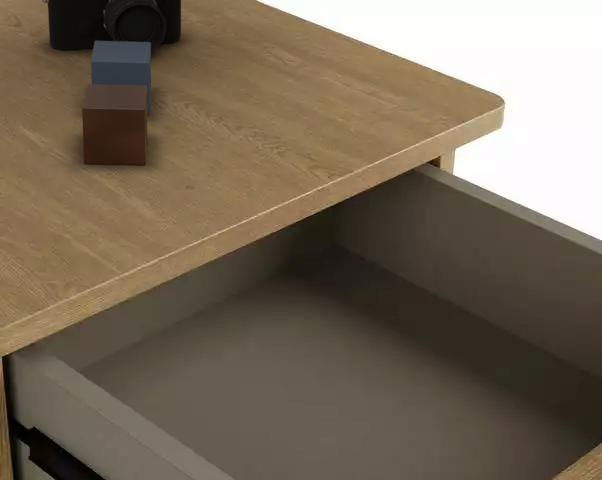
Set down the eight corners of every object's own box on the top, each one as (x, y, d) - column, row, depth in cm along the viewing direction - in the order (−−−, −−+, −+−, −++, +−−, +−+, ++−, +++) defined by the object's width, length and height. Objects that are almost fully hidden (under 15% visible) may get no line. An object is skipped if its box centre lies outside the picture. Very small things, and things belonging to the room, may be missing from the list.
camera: (53, 66, 124) (49, -16, 119) (41, 40, 129) (36, -40, 125) (198, 56, 128) (199, -24, 124) (180, 30, 134) (181, -46, 129)
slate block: (92, 114, 115) (90, 61, 112) (96, 92, 119) (94, 40, 116) (149, 115, 115) (149, 62, 113) (151, 93, 119) (150, 42, 117)
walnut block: (84, 164, 106) (81, 107, 104) (88, 138, 110) (86, 83, 108) (145, 165, 107) (144, 109, 104) (147, 139, 111) (147, 84, 108)
